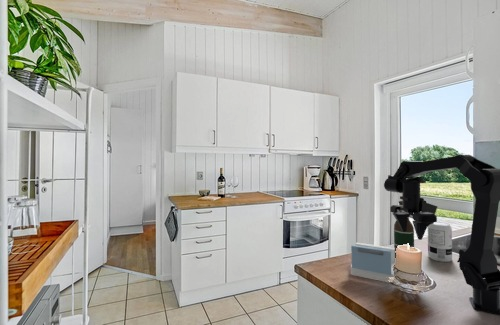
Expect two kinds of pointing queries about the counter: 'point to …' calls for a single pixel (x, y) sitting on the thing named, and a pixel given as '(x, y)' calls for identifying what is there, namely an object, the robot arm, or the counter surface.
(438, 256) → the supplement can
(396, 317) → the counter surface
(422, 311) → the counter surface
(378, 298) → the counter surface
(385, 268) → the panel
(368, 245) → the white stepped block
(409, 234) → the beer bottle
